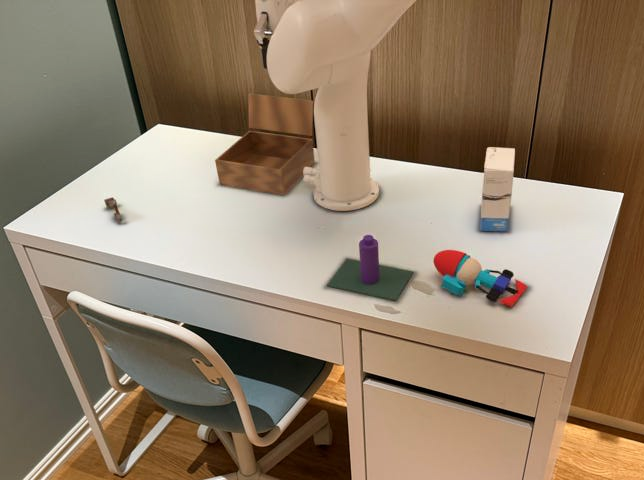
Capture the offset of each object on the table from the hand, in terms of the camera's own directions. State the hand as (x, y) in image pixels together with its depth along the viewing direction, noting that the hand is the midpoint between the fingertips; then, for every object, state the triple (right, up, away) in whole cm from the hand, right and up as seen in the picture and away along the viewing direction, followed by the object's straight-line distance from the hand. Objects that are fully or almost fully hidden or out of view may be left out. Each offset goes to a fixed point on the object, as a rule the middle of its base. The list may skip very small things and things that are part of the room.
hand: (283, 59), depth 141 cm
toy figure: (+33, -48, -28) cm, 64 cm away
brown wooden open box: (-4, -21, +5) cm, 22 cm away
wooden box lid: (-1, -10, +4) cm, 10 cm away
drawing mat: (+16, -46, -25) cm, 55 cm away
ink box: (+39, -35, -14) cm, 54 cm away
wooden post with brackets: (-32, -31, -2) cm, 45 cm away
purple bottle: (+16, -46, -25) cm, 55 cm away
